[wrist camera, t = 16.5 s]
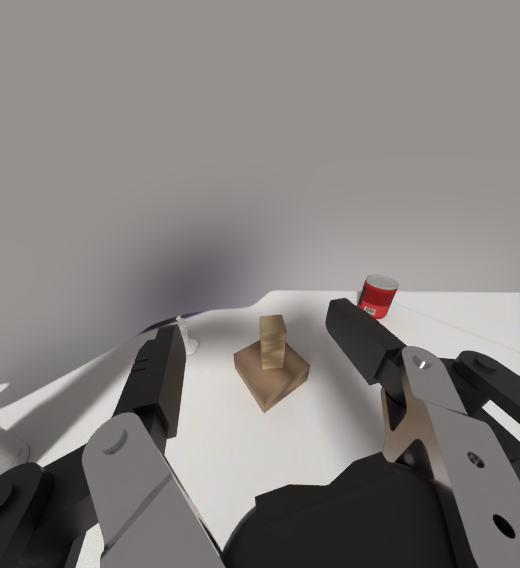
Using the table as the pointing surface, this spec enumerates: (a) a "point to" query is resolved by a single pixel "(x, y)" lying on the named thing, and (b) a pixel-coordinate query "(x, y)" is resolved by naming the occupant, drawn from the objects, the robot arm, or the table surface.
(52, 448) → the table surface
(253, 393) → the walnut block
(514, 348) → the table surface
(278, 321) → the oak block
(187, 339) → the chess piece
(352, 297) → the table surface
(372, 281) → the canned food
